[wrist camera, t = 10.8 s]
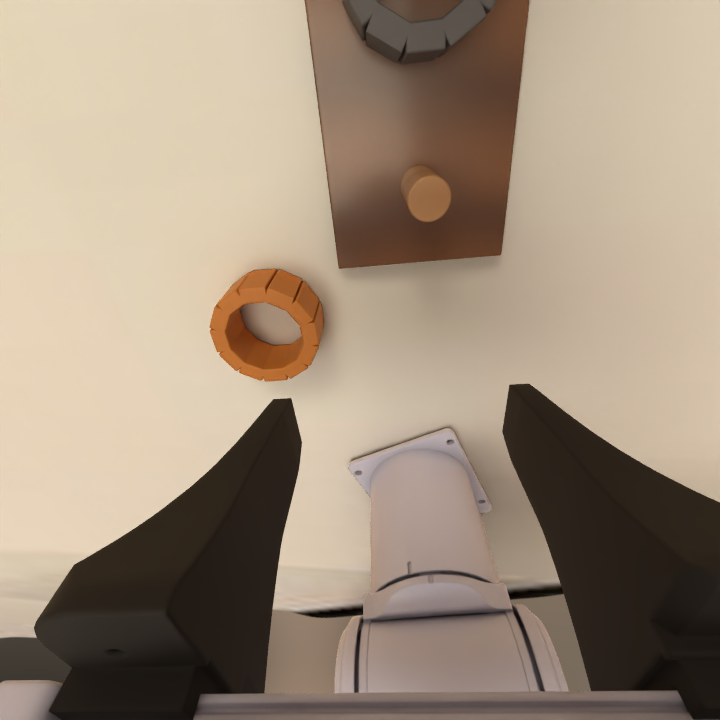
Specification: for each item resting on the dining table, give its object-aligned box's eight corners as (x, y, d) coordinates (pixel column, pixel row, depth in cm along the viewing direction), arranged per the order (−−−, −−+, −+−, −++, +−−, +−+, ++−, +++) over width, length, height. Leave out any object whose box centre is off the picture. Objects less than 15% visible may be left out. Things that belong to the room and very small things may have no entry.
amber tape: (315, 264, 19) (308, 283, 17) (329, 352, 22) (324, 378, 20) (214, 273, 20) (195, 292, 18) (241, 359, 23) (227, 384, 20)
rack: (496, 250, 19) (528, 282, 15) (339, 263, 19) (332, 297, 16) (544, -208, 11) (629, -368, 8) (286, -166, 12) (248, -295, 8)
